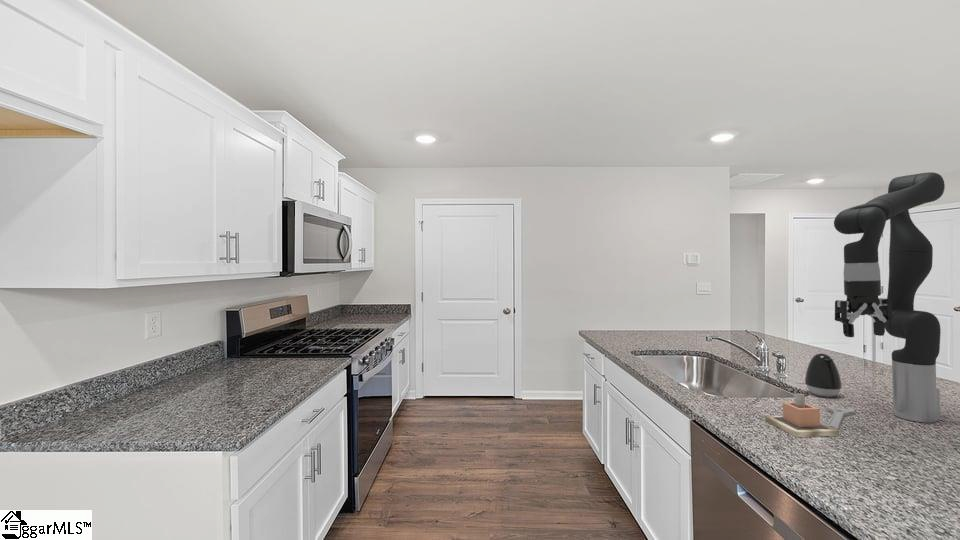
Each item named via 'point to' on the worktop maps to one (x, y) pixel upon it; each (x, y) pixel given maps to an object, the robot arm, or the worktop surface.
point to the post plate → (801, 431)
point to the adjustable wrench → (838, 415)
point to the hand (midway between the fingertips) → (864, 336)
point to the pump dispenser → (823, 376)
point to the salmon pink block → (801, 415)
